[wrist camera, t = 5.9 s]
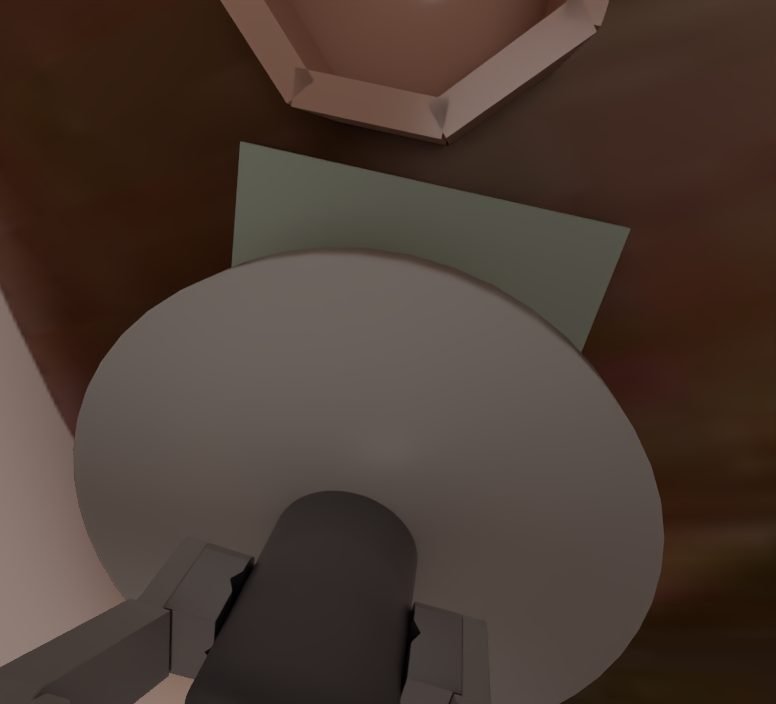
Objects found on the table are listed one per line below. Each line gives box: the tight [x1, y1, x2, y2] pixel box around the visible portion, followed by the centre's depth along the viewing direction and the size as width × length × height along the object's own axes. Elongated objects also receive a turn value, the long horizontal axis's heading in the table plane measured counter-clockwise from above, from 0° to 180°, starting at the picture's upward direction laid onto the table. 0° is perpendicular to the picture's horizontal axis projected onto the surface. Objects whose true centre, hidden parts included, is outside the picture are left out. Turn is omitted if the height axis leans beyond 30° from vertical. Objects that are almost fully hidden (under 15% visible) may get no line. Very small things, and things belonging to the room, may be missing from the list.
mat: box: [232, 142, 630, 352], centre depth 22 cm, size 16×16×1 cm
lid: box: [73, 247, 664, 704], centre depth 10 cm, size 14×14×5 cm
